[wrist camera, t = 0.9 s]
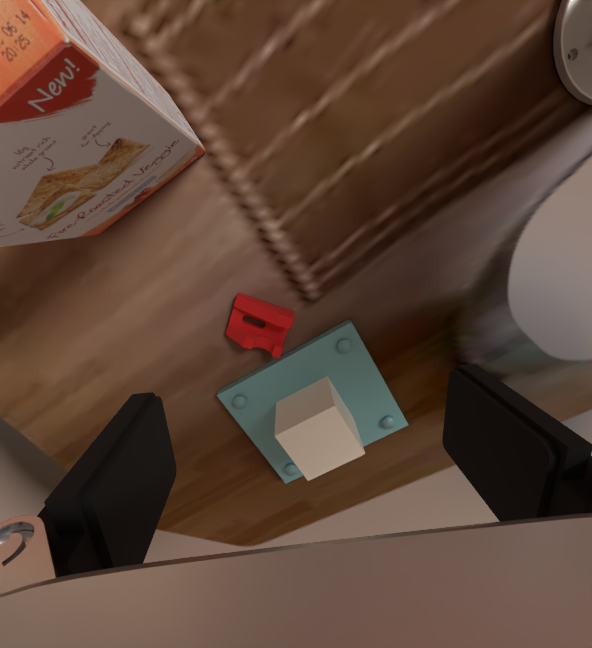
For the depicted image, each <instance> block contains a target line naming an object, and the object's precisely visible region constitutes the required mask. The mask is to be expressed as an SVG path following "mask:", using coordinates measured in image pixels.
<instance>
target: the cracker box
mask: <svg viewBox="0 0 592 648" xmlns="http://www.w3.org/2000/svg"><path fill="white" fill-rule="evenodd" d="M205 152H206V150H205V148H204V147H203V145H202V144H201V142H200V141H199V139H198V138H197V136H196V135H195V133H194V132H193V130H192V128H191V127H190V125H189V124H188V122H187V121H186V119H185V118H184V116H183V115H182V113H181V112H180V110H179V109H178V107H177V106H176V104H175V103H174V101H173V100H172V98H171V97H170V95H169V94H168V93H167V91H166V90H165V89H164V88H163V87H162V86H161V85H160V84H159V83H158V82H157V81H156V80H155V79H154V78H153V77H152V75H151V74H150V73H149V72H148V71H147V70H146V69H145V68H144V67H143V66H142V65H141V64H140V63H139V62H138V61H137V60H136V58H135V57H134V56H133V55H132V54H131V53H130V52H129V51H128V50H127V49H126V48H125V47H124V46H123V45H122V44H121V43H120V42H119V41H118V40H117V39H116V37H115V36H114V35H113V34H112V33H111V32H110V31H109V30H108V29H107V28H106V27H105V26H104V25H103V24H102V23H101V22H100V21H99V20H98V19H97V18H96V17H95V16H94V15H93V14H92V13H91V11H90V10H89V9H88V8H87V7H86V6H85V5H84V4H83V3H82V2H81V1H80V0H0V247H6V246H13V245H21V244H30V243H38V242H46V241H53V240H60V239H68V238H76V237H85V236H92V235H99V234H100V233H101V232H103V231H104V230H105V229H107V228H108V227H109V226H110V225H112V224H113V223H114V222H116V221H117V220H118V219H120V218H121V217H122V216H123V215H125V214H126V213H127V212H129V211H130V210H131V209H132V208H134V207H135V206H136V205H138V204H139V203H140V202H142V201H143V200H144V199H145V198H147V197H148V196H149V195H151V194H152V193H153V192H155V191H156V190H157V189H159V188H160V187H161V186H162V185H164V184H165V183H166V182H168V181H169V180H170V179H172V178H173V177H174V176H175V175H177V174H178V173H179V172H181V171H182V170H183V169H185V168H186V167H187V166H188V165H190V164H191V163H192V162H194V161H195V160H196V159H198V158H199V157H200V156H201V155H203V154H204V153H205Z"/></svg>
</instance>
